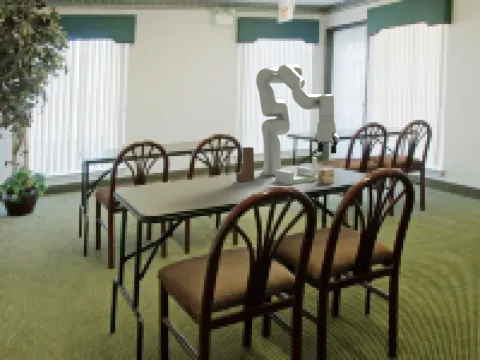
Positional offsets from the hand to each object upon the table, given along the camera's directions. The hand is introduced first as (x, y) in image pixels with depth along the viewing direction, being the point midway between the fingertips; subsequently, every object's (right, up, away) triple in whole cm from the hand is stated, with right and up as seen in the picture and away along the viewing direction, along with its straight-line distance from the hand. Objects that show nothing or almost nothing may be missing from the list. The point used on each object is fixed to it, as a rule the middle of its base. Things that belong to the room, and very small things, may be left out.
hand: (327, 152), depth 250 cm
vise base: (-14, -14, +11) cm, 23 cm away
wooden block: (-42, -15, +14) cm, 46 cm away
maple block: (0, -15, +3) cm, 16 cm away
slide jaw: (-6, -11, +15) cm, 20 cm away
